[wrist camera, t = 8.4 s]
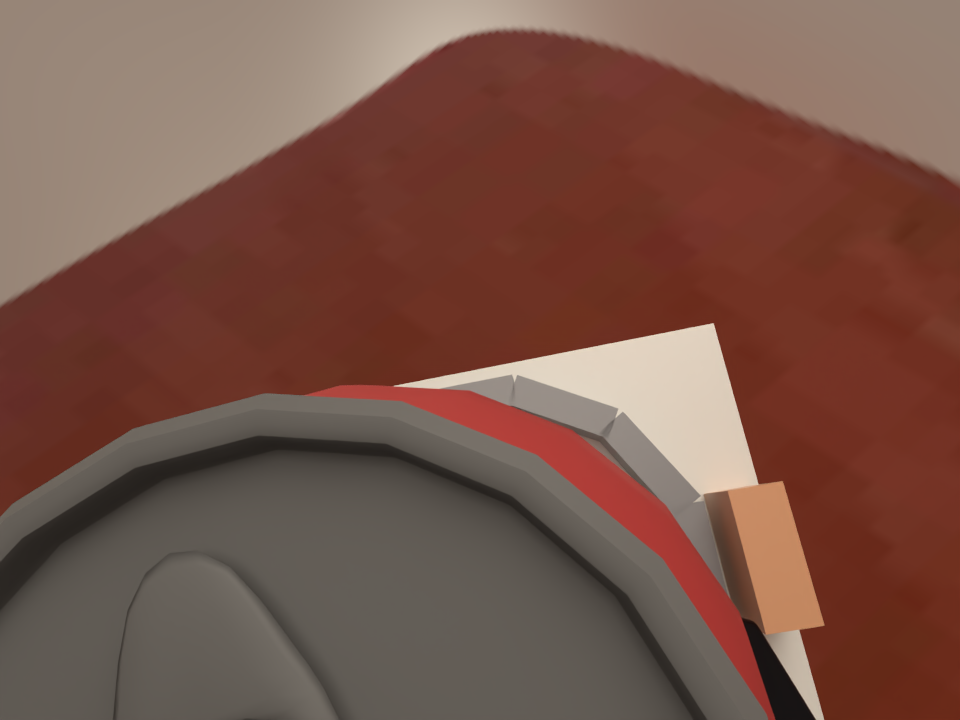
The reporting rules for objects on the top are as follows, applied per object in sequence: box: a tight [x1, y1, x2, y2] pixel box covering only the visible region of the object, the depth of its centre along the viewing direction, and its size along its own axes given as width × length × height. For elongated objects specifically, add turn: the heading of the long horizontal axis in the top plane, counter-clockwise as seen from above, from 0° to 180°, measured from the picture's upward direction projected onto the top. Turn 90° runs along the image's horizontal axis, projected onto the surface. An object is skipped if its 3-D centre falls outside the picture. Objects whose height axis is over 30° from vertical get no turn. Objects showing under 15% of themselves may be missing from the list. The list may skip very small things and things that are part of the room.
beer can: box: [0, 385, 775, 720], centre depth 9 cm, size 7×7×12 cm
